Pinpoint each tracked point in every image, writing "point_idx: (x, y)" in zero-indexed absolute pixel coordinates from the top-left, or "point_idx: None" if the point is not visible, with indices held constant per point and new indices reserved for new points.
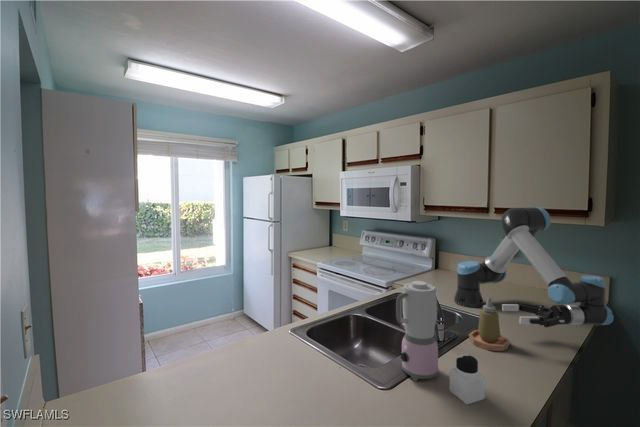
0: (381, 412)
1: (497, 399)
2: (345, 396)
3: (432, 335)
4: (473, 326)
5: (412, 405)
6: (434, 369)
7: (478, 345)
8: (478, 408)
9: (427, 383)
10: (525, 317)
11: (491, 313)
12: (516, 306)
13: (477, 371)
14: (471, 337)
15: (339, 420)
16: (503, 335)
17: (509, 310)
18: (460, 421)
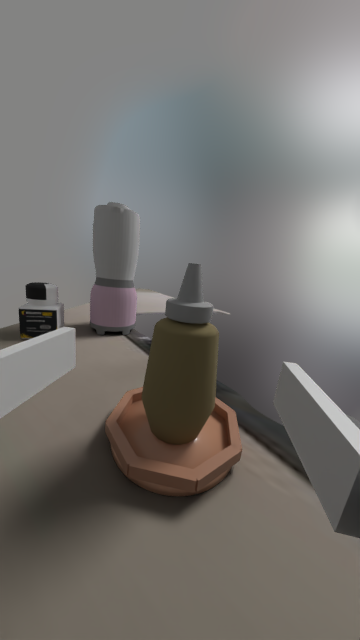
0: (77, 309)
1: (4, 345)
2: None
3: (97, 274)
4: None
5: (69, 316)
6: (90, 316)
7: None
8: (17, 332)
9: (89, 326)
10: (43, 335)
11: (166, 318)
12: (334, 448)
13: (26, 298)
14: None
15: (86, 303)
16: (187, 477)
17: (289, 431)
18: None
